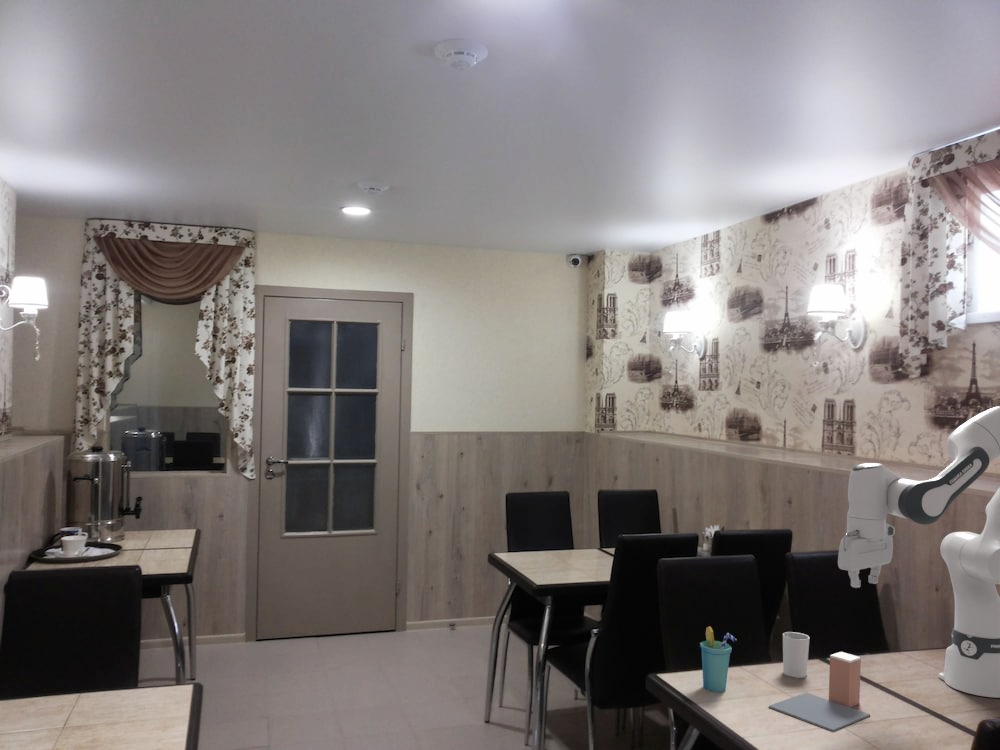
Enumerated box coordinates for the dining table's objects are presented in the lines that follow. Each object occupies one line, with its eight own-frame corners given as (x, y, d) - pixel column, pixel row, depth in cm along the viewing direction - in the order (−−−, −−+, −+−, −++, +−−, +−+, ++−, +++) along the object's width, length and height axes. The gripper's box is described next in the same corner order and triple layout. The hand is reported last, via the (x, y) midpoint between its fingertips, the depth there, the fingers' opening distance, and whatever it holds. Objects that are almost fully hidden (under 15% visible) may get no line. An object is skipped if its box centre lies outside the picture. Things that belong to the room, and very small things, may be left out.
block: (839, 696, 199) (841, 651, 199) (859, 703, 195) (860, 657, 196) (828, 700, 196) (830, 654, 196) (848, 707, 192) (849, 660, 192)
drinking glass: (803, 680, 210) (805, 641, 210) (777, 673, 214) (779, 635, 214) (811, 673, 215) (812, 635, 216) (786, 667, 219) (787, 630, 220)
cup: (747, 698, 195) (749, 635, 196) (720, 701, 193) (722, 637, 193) (713, 678, 208) (715, 619, 209) (686, 681, 206) (689, 621, 206)
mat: (806, 694, 200) (806, 692, 200) (870, 715, 188) (870, 714, 188) (768, 707, 190) (768, 705, 190) (833, 731, 178) (833, 729, 178)
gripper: (857, 534, 193) (855, 593, 192) (898, 527, 205) (896, 583, 205) (831, 530, 197) (830, 587, 197) (873, 524, 210) (872, 577, 210)
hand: (864, 585), depth 201 cm, fingers open, 7 cm apart
